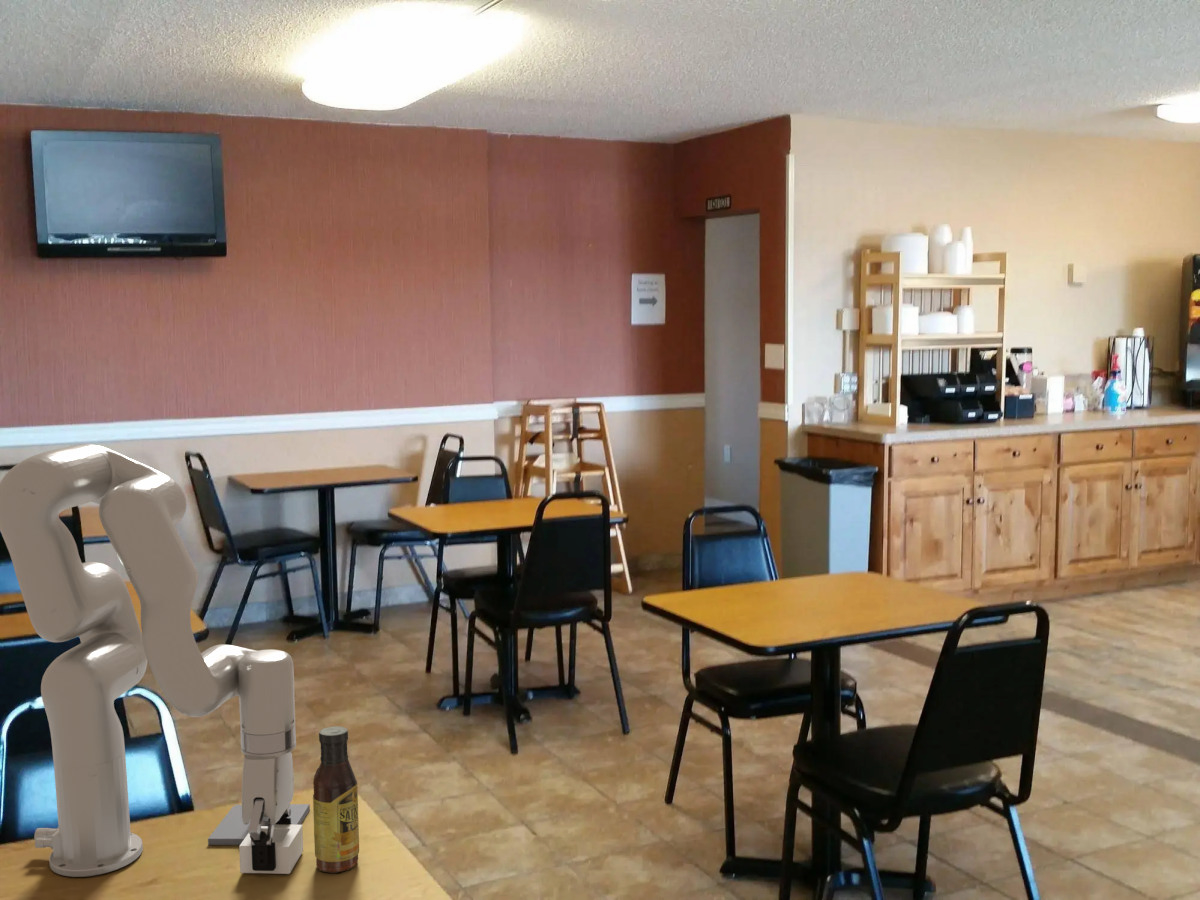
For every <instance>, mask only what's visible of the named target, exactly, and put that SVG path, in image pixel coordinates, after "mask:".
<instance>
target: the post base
mask: <svg viewBox="0 0 1200 900" xmlns="http://www.w3.org/2000/svg"><path fill="white" fill-rule="evenodd" d="M234 805H236V806H234ZM234 805H233V806H232V807H231V808H230V810H229V811H228V812H227V814H226V815H225V816H224V817H223V819H222V820H221V821H220V823H219V824H218V825H217V826H216V828H215V829H214V830H213V831H212V833H211V834H210V835H209V836H208V838H207V845H208V846H240V844H241V843H242V842H243V840H244V839H245V837H246V836H247V834H248V833H249V825H250V823H249V824H247V825H244V824H243V822H242V803H241V805H239V803H235V804H234ZM310 806H311V805H310V803H307V804H305V803H303V804H302V803H297V804H295V803H290V808H291V816H290V817H287V818H291V825H303V822H304V820H305V819H306V817H307V816H308V814H309V812H310V811H311V808H310ZM268 819H269V818H268V817H263V819H262V821H268Z"/></svg>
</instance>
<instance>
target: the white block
mask: <svg viewBox="0 0 1200 900" xmlns="http://www.w3.org/2000/svg"><path fill="white" fill-rule="evenodd" d="M261 829H262V831H264V832H265V833H266V834H267V831H268V826H261ZM303 829H304V828H303V824H301V825H291V824H289V825H278V824H274V831H273V841H272V842H275V854H276V868H275V870H274V871H254V870H253V869H252V848H251V838H250V834H249V833H248V834H247V836H246V837H245V839H244V840H243V842H242V843H241V844H240V845H238V846H239V850H238V851H239V871H240V872H239V873H241V874H242V873H243V874H278V875H279V874H280V875H281V874H282V875H284V874H285V875H289V874H291V872H292V870H293V869H294V867H295V866H296V863H297V862H298V861H299V858H300V857H301V855H302V854H303V852H304V835H303V833H304V830H303Z"/></svg>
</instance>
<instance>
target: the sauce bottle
mask: <svg viewBox="0 0 1200 900" xmlns="http://www.w3.org/2000/svg"><path fill="white" fill-rule="evenodd" d="M348 740H349V731H348V728H346V727H344V726H338V725H337V726H329V727H325V728H322V729H321V730H320V731H319V732H318V741H319V744H320V764H319V766H318V768H317V769H316V770H315V774H314V776H313V782H312V784H313V785H312V786H313V794H312V795H313V796H312V806H313V807H312V808H313V811H312V812H313V838H314V839H313V840H314V856H315V858H316V860H315V861H316V867H317V869H318V870H319V871H322V872H325V873H331V874H332V873H333V874H336V873H337V874H338V873H341V872H346V871H348V870H350V869H352V868H355V866H357V864H358V862H359V853H360V829H359V828H360V827H359V822H360V821H359V799H358V797H359V793H358V789H359V788H358V782H357V781H358V780H357V778H356V776H355V775H356V774H355V773H354V771H353V768H352V766H351V763H350V760H349V754H348Z"/></svg>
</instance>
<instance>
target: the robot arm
mask: <svg viewBox="0 0 1200 900" xmlns="http://www.w3.org/2000/svg"><path fill="white" fill-rule="evenodd" d="M185 495H186V494H185V492H184V491H183V488H182V487H181V486H180V484H179V483H177V481H175V479H174V478H172V477H170V476H169V475H167V474H165V473H163V472H161V471H160V470H157V469H154V468H153V467H150V466H149V465H146V464H144V463H141V462H139V461H137V460H135V459H132V458H129V456H126V455H124V454H121V453H120V452H117V451H115V450H112V449H111V448H107V447H105V446H103V445H98V444H92V443H84V444H83V443H82V444H76V445H71V446H67V447H62V448H58V449H52V450H48V451H44V452H40V453H37V454H35V455H32V456H29V457H27V458H25V459H23V460H22V461H20V462H18V463H16V464H15V465H14V466H13V467H12V468H10V469H9V470H8V471H7V473H5V475H4V477H2V479H1V480H0V533H1V536H2V538H3V541H4V543H5V546H6V549H7V551H8V554H9V556H10V559H11V563H12V565H13V568H14V573H15V576H16V580H17V583H18V586H19V589H20V592H21V596H22V598H23V602H24V605H25V608H26V612H27V614H28V618H29V620H30V623H31V626H32V627H33V629H34V631H35V633H36V634H37V635H38V636H39V637H40V638H42V639H43V640H45V641H47V642H51V643H63V642H68V641H70V640H72V639H75V638H77V637H78V638H79V639H80V640H79V641H80V643H79V644H77V645H76V646H75V645H74V647H72V648H70V649H68V650H66V651H65V652H63V653H62V654H60V655H59V656H57V657H56V658H55V659H54V660H53V661H52V662H51V663H50V664H49V665H48V667H47V668H46V669H45V672H44V674H43V675H42V679H41V681H40V682H41V684H40V693H41V694H40V695H41V700H42V703H43V707H44V710H45V713H46V716H47V721H48V727H49V732H50V738H51V747H52V748H51V749H52V762H53V769H54V770H53V772H54V784H55V795H56V797H55V798H56V811H57V824H58V826H57V828H51V827H37V828H36V829H35V832H34V847H35V848H37V849H38V848H39V849H40V848H43V849H44V848H50V849H51V850H52V852H51V854H50V855H49V858H48V861H49V868H50V869H51V870H52V871H53V872H54V873H56V874H58V875H59V876H60V875H61V876H65V877H72V878H83V877H84V878H85V877H93V876H99V875H103V874H107V873H111V872H113V871H117V870H120V869H122V868H123V867H124V868H125V867H126V866H127V865H130V864H131V863H133V862H134V861H135V860H137V859H139V857H140V856H141V854H142V853H143V849H144V846H143V845H144V844H143V840H142V838H141V837H140V836H139V835H137V834H136V833H133V832H132V831H131V819H130V806H129V805H130V804H129V790H128V775H127V773H128V772H127V759H126V749H125V748H126V747H125V736H124V730H123V726H122V724H121V720H120V718H119V716H118V714H117V711H116V709H115V704H114V703H115V700H116V699H119V697H121V696H122V695H124V694H125V693H127V692H128V691H129V690H131V689H132V688H133V687H135V686H136V685H137V684H139V682H140V681H141V680H142V679H143V677H144V675H145V672H146V670H147V667H148V666H149V669H150V671H151V672H152V674H153V676H154V679H155V680H156V683H157V685H158V686H159V688H160V690H161V691H162V693H163V695H164V697H165V699H167V701H168V702H169V704H170V705H171V707H173V709H175V710H176V711H177V712H179V713H180V714H182V715H184V716H186V717H191V718H200V717H204V716H207V715H209V714H211V713H212V712H214V711H215V710H216V709H218V708H219V707H221V706H222V705H223V704H224V703H226V701H228V700H230V699H232V698H235V697H237V696H238V699H239V700H238V701H239V702H238V703H239V704H238V705H239V725H240V727H239V728H240V729H239V730H240V752H241V753H242V755H243V756H244V757H243V766H242V775H241V777H242V778H241V781H242V782H241V804H242V822H243V824H244V825H247V824H249V823H250V825H249V834H250V838H251V848H252V869H253V870H254V871H274V870H275V868H276V854H275V842H272V841H273V831H274V824H278V825H289V824H291V818H287V817H290V816H291V808H290V804H292V803H291V802H292V801H293V799H294V793H295V791H294V789H295V787H294V786H295V785H294V784H295V782H294V781H295V779H294V776H295V775H294V765H293V764H294V762H293V754H292V753H293V750H295V749H296V747H297V738H296V737H297V736H296V735H297V734H296V707H295V706H296V703H295V702H296V701H295V671H294V669H295V668H294V661H293V658H292V656H291V655H290V654H289V653H288V652H286V651H284V650H280V649H271V648H270V649H260V650H255V649H251V648H247V647H242V646H239V645H238V646H237V645H233V644H224V643H223V644H222V643H221V644H216V645H213V646H210V647H208V648H207V649H205V650H204V651H202V652H201V651H200V649H199V645H197V642H196V638H195V636H194V634H193V628H192V622H191V621H192V620H191V611H192V610H191V609H192V605H193V604H192V603H193V599H194V597H195V594H196V589H197V587H198V586H197V585H198V582H199V572H198V569H197V568H196V565H195V564H194V561H193V559H192V557H191V556H190V554H189V552H188V550H187V547H186V545H185V544H184V542H183V539H182V538H181V536H180V534H179V532H178V530H177V528H176V525H178V523H180V521H182V519H183V518H184V516H185V514H186V511H187V498H186V496H185ZM90 502H91V503H94V504H97V505H99V506H98V517H99V520H100V524H101V526H102V527H103V530H104V531H105V534H106V536H107V537H108V539H109V542H110V544H111V546H112V548H113V550H114V552H115V554H116V555H117V557H118V559H119V561H120V563H121V564H122V565H121V566H122V567H123V569H124V571H125V573H126V575H127V577H128V579H129V580H130V583H131V585H132V586H133V589H134V590H135V593H136V595H137V598H138V599H139V603H140V623H139V620H138V617H137V613H136V611H135V607H134V604H133V601H132V597H131V595H130V592H129V589H128V587H127V584H126V583H125V580H124V579H123V578H122V576H121V575H120V574H119V573H118V572H117V571H116V570H115V569H114V568H112V567H111V566H109V565H107V564H105V563H103V562H99V561H98V562H97V561H86V562H82V560H81V558H80V555H79V554H80V553H79V549H78V545H77V543H76V541H75V539H74V536H73V535H72V532H71V531H70V530H69V528H68V527H67V525H65V523H64V522H63V521H62V519H61V518H60V514H61V513H62V512H64V511H65V510H68V509H70V508H74V507H78V506H81V505H84V504H87V503H90ZM140 626H141V627H140ZM263 817H268V818H269V819H268V821H262V819H263ZM261 826H268V831H267V834H266V833H265V832H264V831H262V829H261Z"/></svg>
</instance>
